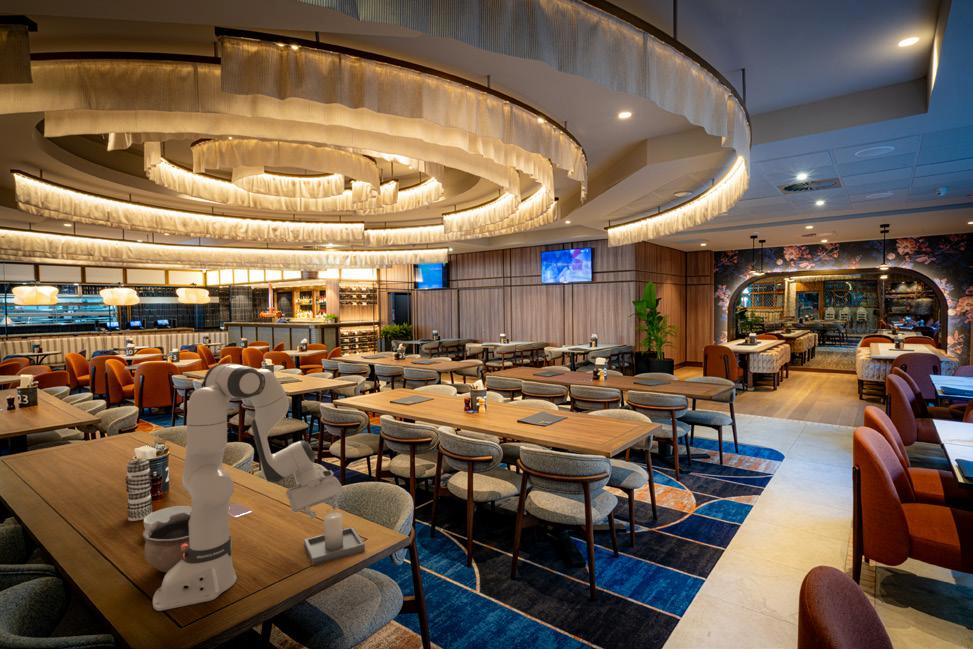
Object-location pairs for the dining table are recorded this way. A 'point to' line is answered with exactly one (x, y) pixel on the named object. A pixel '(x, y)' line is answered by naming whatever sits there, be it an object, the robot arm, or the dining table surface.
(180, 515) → the ceramic bowl
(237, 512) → the mobile phone
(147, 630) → the dining table surface
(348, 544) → the serving tray
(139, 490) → the decorative candle
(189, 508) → the cereal bowl
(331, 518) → the cream capsule shape
